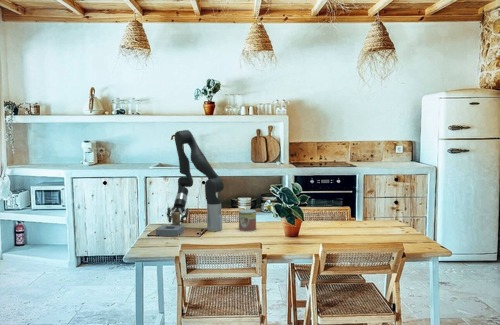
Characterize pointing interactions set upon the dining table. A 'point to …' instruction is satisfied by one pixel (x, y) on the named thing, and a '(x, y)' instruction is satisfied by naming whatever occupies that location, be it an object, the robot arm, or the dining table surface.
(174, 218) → the walnut post
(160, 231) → the charcoal well block
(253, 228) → the canned food
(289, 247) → the dining table surface
